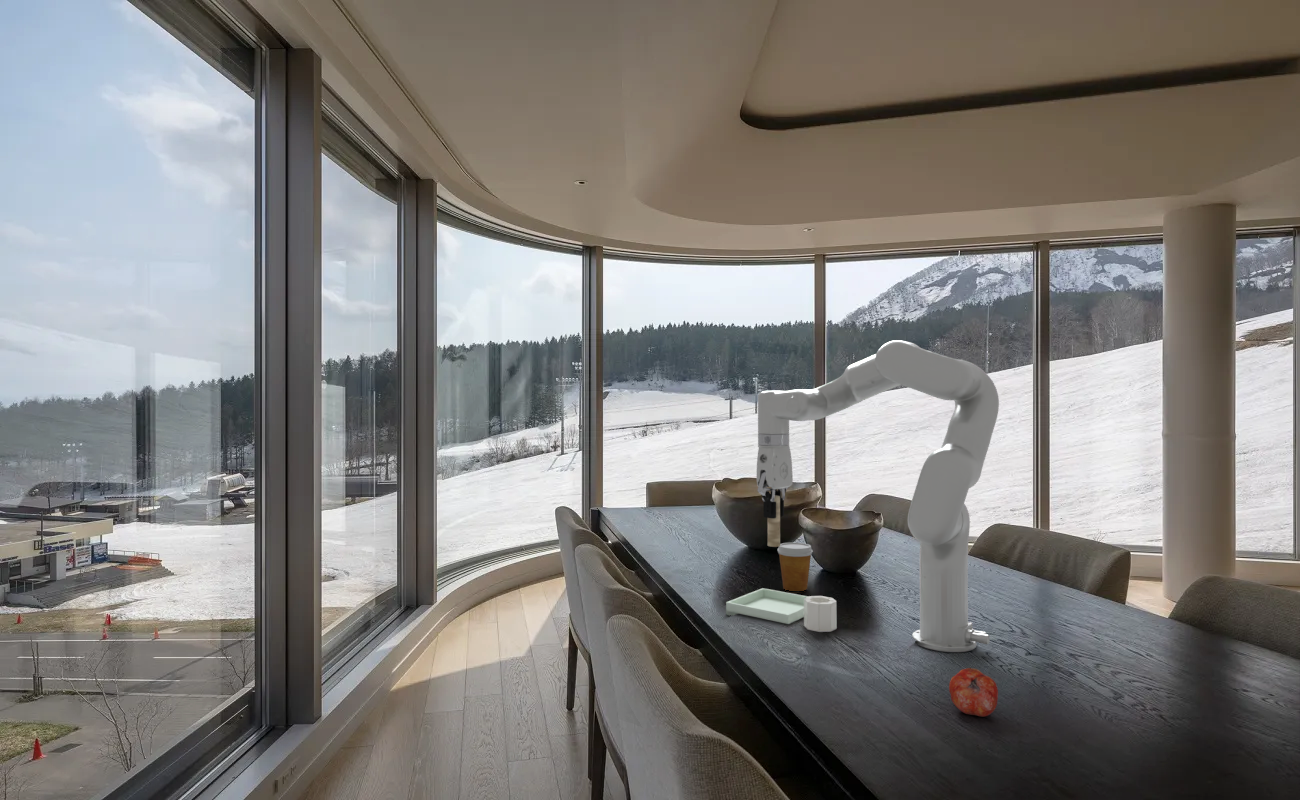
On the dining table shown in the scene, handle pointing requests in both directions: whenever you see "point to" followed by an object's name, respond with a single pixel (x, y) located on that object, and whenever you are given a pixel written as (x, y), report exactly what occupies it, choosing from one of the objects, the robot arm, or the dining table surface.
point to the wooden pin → (774, 526)
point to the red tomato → (973, 692)
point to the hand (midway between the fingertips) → (773, 516)
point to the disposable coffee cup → (795, 565)
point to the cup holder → (820, 613)
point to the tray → (768, 605)
